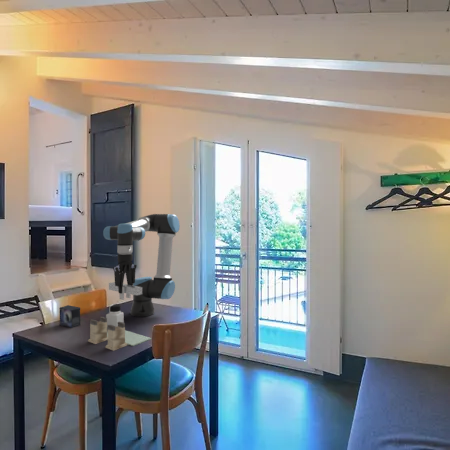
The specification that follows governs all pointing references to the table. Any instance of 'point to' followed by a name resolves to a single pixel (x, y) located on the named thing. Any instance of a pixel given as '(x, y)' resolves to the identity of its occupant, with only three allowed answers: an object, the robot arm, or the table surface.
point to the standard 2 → (116, 336)
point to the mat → (134, 338)
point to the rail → (127, 289)
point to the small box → (70, 316)
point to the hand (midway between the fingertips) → (125, 298)
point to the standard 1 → (98, 330)
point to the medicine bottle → (114, 315)
